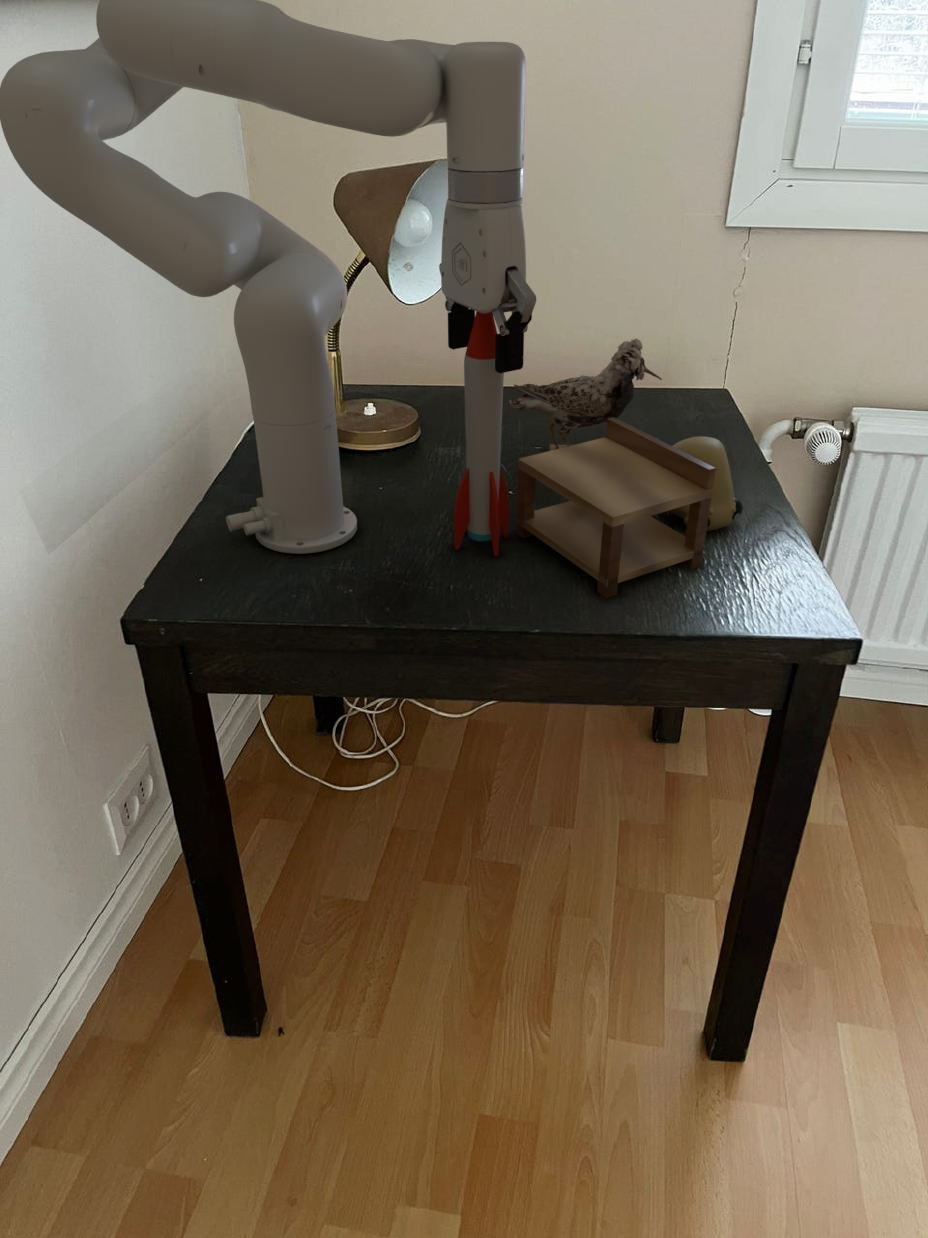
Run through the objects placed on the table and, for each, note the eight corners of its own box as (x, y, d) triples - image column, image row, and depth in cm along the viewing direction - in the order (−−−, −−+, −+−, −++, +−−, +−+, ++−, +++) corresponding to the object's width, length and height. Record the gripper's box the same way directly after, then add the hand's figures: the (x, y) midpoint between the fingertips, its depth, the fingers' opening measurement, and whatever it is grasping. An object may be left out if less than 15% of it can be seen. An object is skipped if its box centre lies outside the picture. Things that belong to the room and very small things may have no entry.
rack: (605, 598, 105) (614, 496, 98) (515, 533, 118) (518, 439, 111) (701, 566, 111) (716, 467, 104) (605, 507, 124) (613, 416, 117)
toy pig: (661, 549, 122) (703, 526, 112) (632, 462, 123) (671, 431, 113) (725, 533, 125) (771, 509, 115) (696, 448, 126) (740, 416, 116)
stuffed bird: (657, 466, 135) (671, 346, 126) (524, 483, 130) (528, 359, 121) (628, 440, 143) (639, 325, 134) (501, 455, 138) (504, 337, 129)
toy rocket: (497, 557, 113) (504, 299, 97) (453, 550, 114) (452, 294, 98) (510, 536, 117) (518, 286, 101) (467, 529, 119) (468, 282, 102)
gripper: (410, 179, 99) (416, 343, 108) (500, 203, 86) (498, 387, 96) (472, 173, 102) (473, 333, 111) (567, 195, 89) (559, 374, 99)
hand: (484, 358), depth 103 cm, fingers open, 9 cm apart
